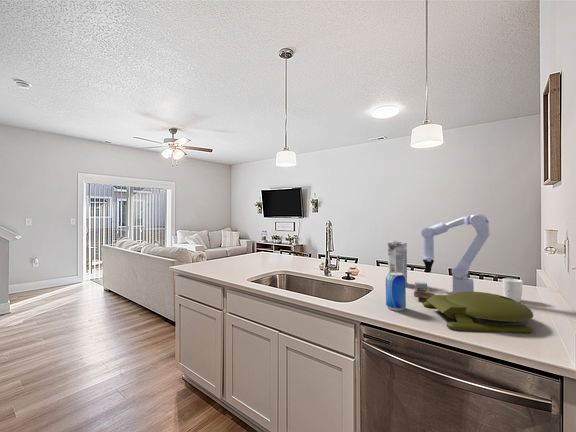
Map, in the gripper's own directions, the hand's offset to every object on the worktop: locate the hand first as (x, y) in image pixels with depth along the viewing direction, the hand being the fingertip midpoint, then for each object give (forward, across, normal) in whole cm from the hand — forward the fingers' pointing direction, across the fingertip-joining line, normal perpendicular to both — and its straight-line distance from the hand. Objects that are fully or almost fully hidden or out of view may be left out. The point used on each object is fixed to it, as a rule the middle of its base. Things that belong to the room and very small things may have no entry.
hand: (428, 272), depth 159 cm
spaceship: (+11, +41, +17) cm, 45 cm away
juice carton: (+10, -8, -17) cm, 21 cm away
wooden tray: (+10, +16, -4) cm, 19 cm away
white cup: (+10, +6, +37) cm, 39 cm away
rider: (+6, +16, -4) cm, 18 cm away
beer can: (+10, +42, -15) cm, 46 cm away
